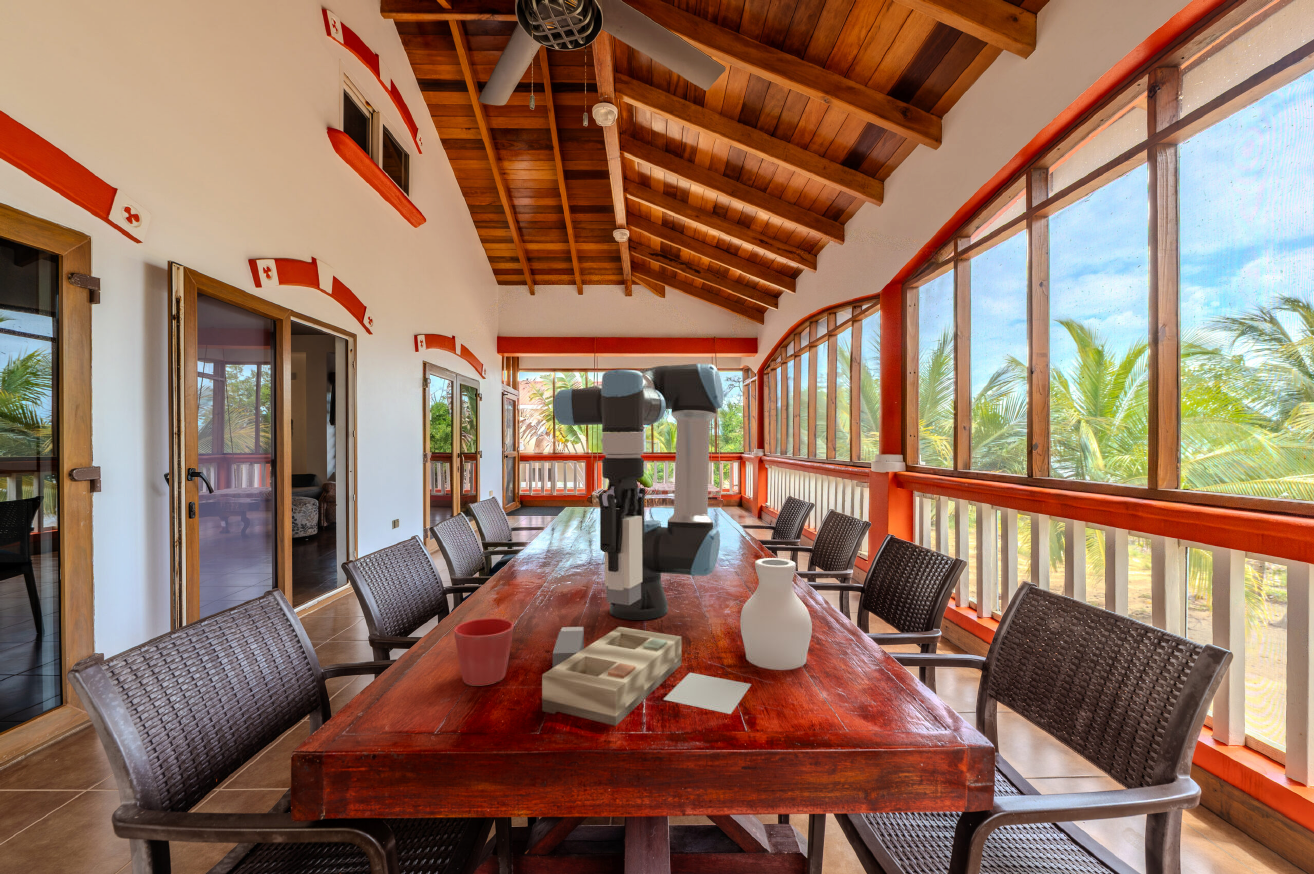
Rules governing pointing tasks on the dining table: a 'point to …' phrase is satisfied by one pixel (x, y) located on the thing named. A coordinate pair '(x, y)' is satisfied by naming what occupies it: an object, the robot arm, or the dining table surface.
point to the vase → (775, 619)
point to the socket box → (611, 675)
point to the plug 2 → (628, 563)
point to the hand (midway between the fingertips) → (623, 584)
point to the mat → (708, 692)
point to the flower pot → (483, 650)
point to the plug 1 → (568, 644)
